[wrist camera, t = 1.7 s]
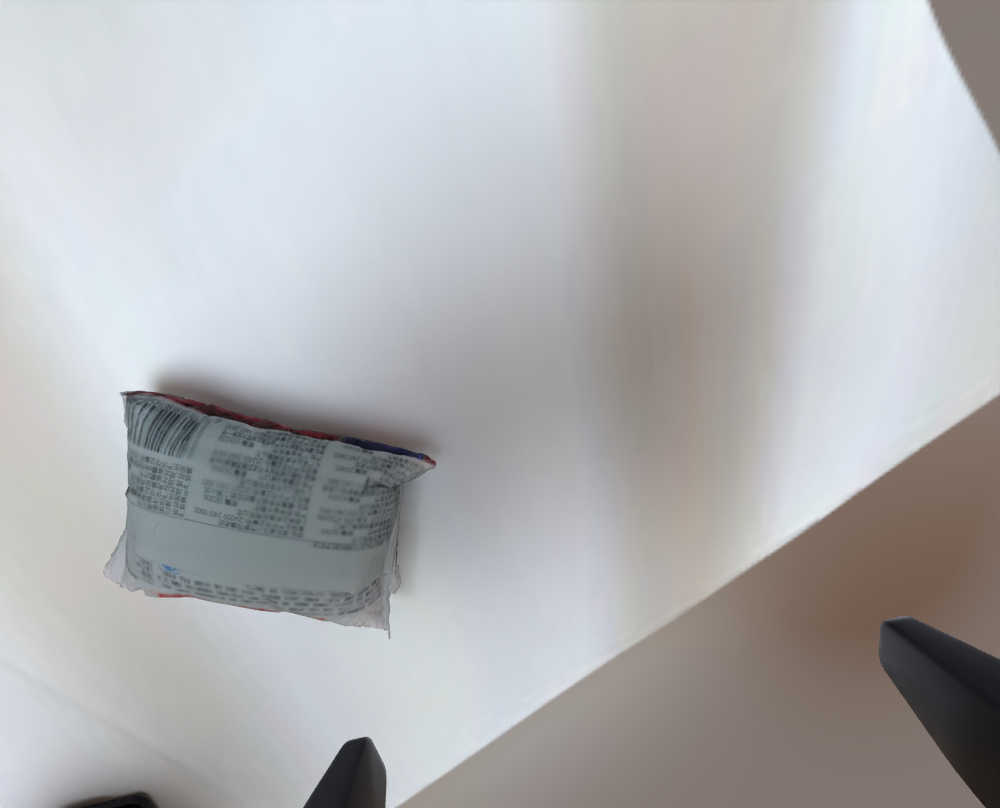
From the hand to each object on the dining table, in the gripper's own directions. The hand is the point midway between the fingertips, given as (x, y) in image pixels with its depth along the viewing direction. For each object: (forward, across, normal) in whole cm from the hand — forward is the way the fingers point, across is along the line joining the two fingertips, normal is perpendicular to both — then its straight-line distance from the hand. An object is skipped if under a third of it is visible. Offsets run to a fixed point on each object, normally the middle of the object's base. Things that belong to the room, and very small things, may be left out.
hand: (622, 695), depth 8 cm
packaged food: (+13, +12, +1) cm, 17 cm away
